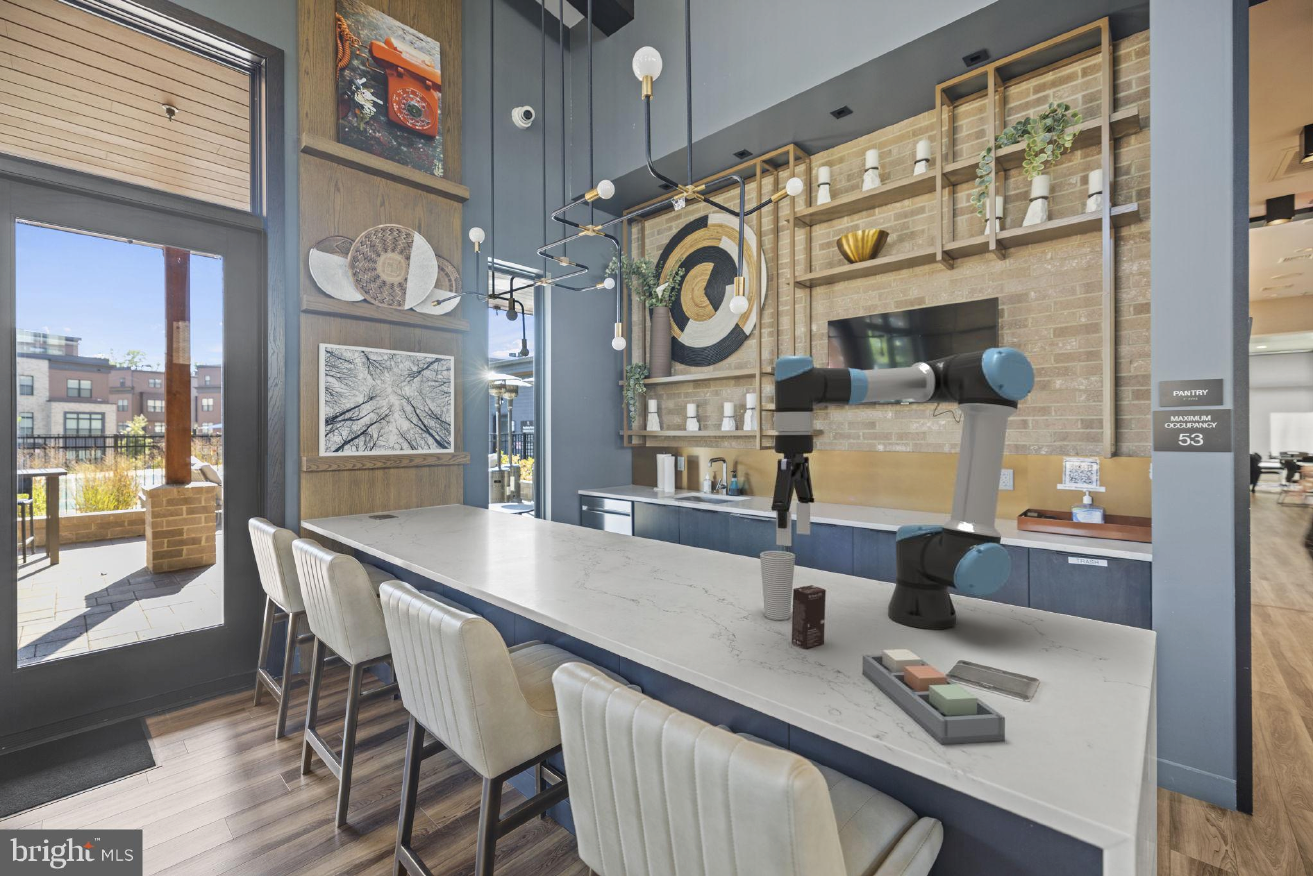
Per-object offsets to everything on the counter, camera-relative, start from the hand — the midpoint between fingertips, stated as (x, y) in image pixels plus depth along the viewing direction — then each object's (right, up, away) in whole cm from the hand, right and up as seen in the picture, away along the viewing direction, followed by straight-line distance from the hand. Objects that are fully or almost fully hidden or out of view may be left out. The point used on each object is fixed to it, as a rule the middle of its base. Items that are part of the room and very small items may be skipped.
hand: (794, 539), depth 116 cm
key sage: (+18, -22, -26) cm, 39 cm away
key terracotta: (+18, -21, -19) cm, 34 cm away
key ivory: (+17, -21, -12) cm, 30 cm away
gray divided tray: (+18, -24, -19) cm, 35 cm away
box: (+5, -24, +8) cm, 26 cm away
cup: (+2, -24, +27) cm, 36 cm away
